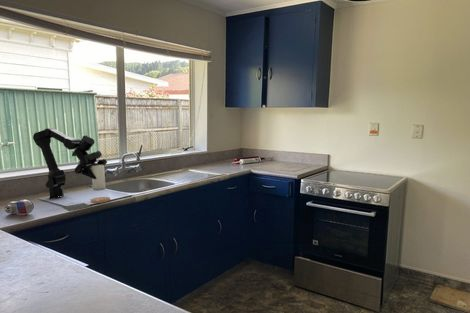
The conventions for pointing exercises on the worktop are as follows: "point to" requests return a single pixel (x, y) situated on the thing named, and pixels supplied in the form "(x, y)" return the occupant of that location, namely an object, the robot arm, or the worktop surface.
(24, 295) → the worktop surface
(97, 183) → the tumbler
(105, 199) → the saucer
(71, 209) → the rubber mat
